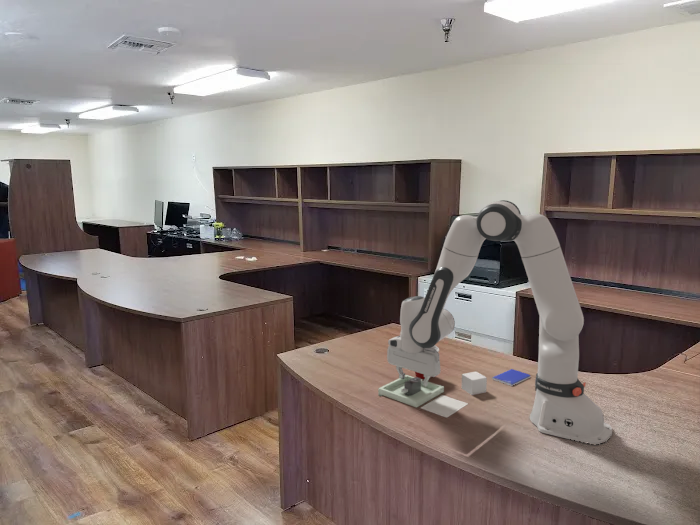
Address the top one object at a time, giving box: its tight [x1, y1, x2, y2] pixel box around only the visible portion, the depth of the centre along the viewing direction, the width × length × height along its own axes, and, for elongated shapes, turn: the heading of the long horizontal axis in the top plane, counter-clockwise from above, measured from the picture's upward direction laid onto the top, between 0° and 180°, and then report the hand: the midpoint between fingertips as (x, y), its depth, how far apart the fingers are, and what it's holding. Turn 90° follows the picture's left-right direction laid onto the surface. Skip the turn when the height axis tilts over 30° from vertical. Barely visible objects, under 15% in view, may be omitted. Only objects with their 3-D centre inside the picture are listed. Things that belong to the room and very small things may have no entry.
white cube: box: [461, 371, 488, 396], centre depth 172 cm, size 6×6×6 cm
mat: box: [420, 394, 469, 418], centre depth 161 cm, size 10×13×1 cm
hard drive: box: [491, 368, 531, 387], centre depth 184 cm, size 2×8×12 cm
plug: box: [401, 376, 421, 396], centre depth 171 cm, size 9×3×4 cm, turn 137°
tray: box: [377, 374, 445, 409], centre depth 171 cm, size 16×16×2 cm
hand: (413, 381), depth 171 cm, fingers open, 8 cm apart
